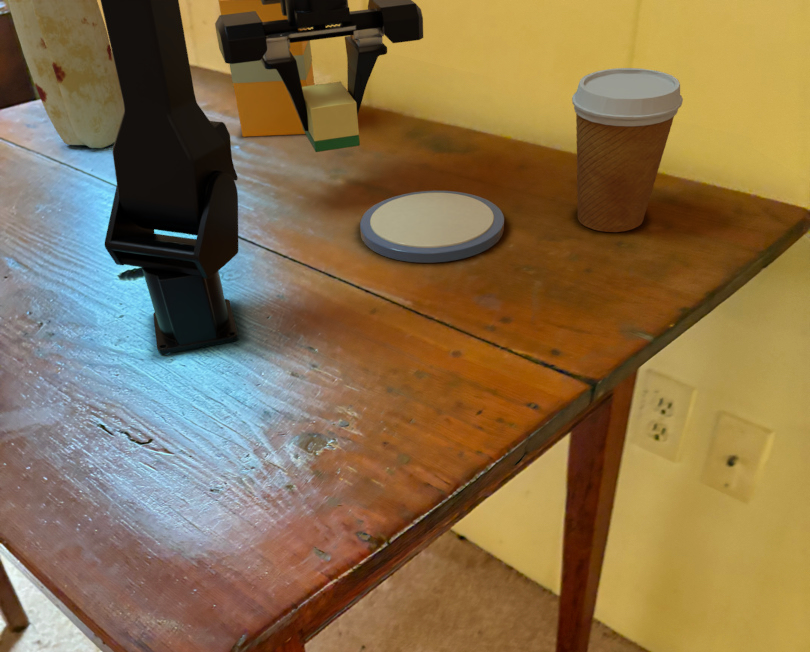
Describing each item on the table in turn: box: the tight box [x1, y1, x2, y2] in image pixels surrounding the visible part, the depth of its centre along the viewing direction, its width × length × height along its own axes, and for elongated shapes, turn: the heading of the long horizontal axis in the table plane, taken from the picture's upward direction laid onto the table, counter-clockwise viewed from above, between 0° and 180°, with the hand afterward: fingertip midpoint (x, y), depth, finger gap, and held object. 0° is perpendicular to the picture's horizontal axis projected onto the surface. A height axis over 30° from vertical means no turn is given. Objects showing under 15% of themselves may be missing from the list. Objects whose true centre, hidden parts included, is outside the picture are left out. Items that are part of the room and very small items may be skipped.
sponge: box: [302, 81, 361, 153], centre depth 80 cm, size 7×4×4 cm, turn 16°
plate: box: [359, 190, 505, 264], centre depth 78 cm, size 14×14×1 cm
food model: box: [7, 0, 124, 149], centre depth 93 cm, size 10×7×20 cm
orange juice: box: [218, 0, 315, 138], centre depth 95 cm, size 8×9×20 cm
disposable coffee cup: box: [571, 67, 684, 233], centre depth 74 cm, size 10×10×12 cm
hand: (329, 126), depth 81 cm, fingers closed on sponge, 4 cm apart
